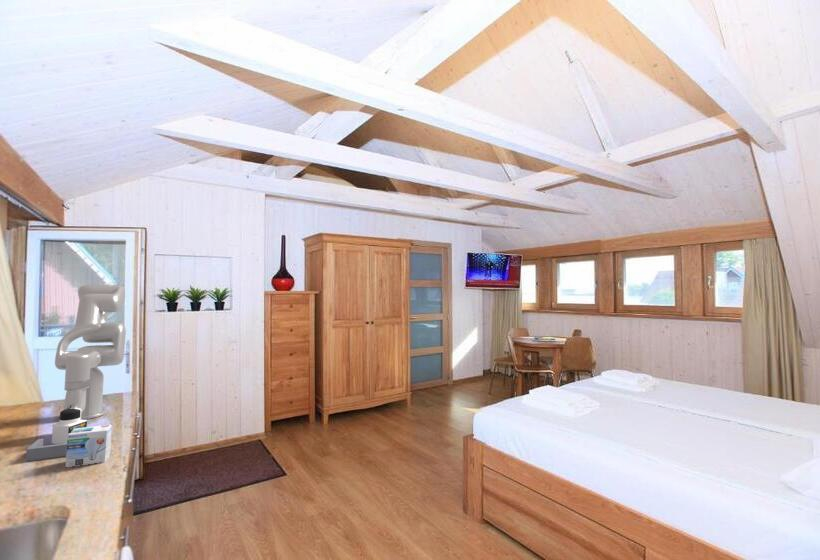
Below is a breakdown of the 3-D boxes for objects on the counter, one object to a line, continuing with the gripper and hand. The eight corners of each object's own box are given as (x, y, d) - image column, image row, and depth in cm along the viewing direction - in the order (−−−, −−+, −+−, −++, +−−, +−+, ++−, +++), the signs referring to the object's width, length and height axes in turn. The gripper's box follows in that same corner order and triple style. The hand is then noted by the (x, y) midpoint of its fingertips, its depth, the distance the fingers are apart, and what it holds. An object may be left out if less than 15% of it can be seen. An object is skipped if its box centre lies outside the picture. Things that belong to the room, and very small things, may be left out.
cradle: (37, 450, 136) (37, 439, 136) (87, 444, 142) (88, 433, 142) (25, 461, 127) (26, 449, 127) (80, 454, 134) (80, 442, 134)
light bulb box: (64, 468, 123) (66, 434, 123) (71, 460, 129) (73, 428, 129) (106, 462, 128) (107, 430, 128) (110, 454, 134) (112, 423, 134)
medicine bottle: (67, 445, 140) (69, 412, 141) (50, 444, 141) (52, 411, 142) (86, 438, 148) (88, 407, 148) (70, 437, 148) (72, 405, 149)
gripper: (70, 381, 157) (68, 426, 156) (58, 390, 144) (55, 439, 143) (93, 380, 160) (91, 424, 160) (84, 388, 147) (81, 436, 147)
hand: (74, 431), depth 151 cm, fingers closed
